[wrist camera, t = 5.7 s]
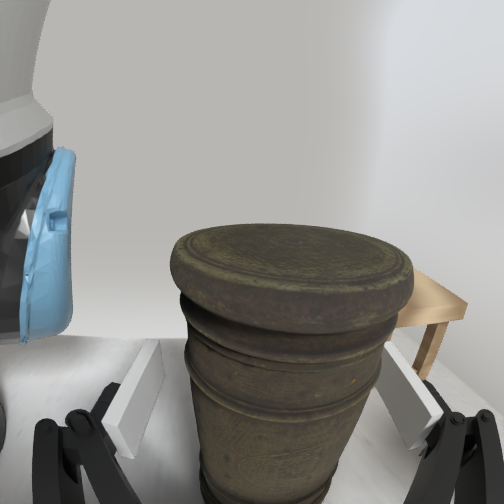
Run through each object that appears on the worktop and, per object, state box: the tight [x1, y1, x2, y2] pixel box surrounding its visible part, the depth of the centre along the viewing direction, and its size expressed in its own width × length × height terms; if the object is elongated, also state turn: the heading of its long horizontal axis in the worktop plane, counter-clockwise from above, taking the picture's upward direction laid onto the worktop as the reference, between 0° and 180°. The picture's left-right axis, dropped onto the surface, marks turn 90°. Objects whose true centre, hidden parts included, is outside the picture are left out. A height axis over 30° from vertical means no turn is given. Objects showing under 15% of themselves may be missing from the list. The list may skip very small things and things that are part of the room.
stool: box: [374, 268, 468, 386], centre depth 24 cm, size 12×12×12 cm
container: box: [170, 224, 414, 504], centre depth 12 cm, size 9×9×18 cm
